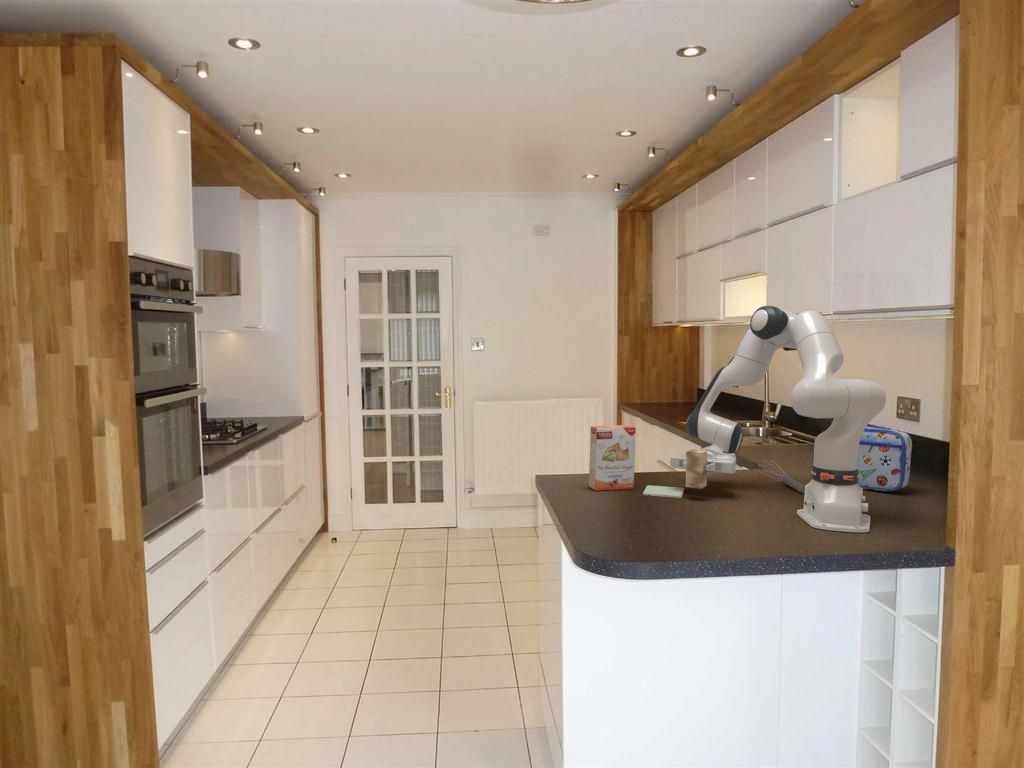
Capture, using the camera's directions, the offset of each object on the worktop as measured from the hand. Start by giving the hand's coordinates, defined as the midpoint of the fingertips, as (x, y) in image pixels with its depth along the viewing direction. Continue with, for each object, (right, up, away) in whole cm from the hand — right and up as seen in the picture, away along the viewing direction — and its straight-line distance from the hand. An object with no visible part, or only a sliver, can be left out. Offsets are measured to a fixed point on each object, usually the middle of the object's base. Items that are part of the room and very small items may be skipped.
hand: (695, 467), depth 211 cm
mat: (-8, -9, +10) cm, 15 cm away
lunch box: (+61, -9, +19) cm, 65 cm away
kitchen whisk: (+37, -9, +23) cm, 45 cm away
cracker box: (-24, -9, +15) cm, 30 cm away
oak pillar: (0, -6, +1) cm, 6 cm away
